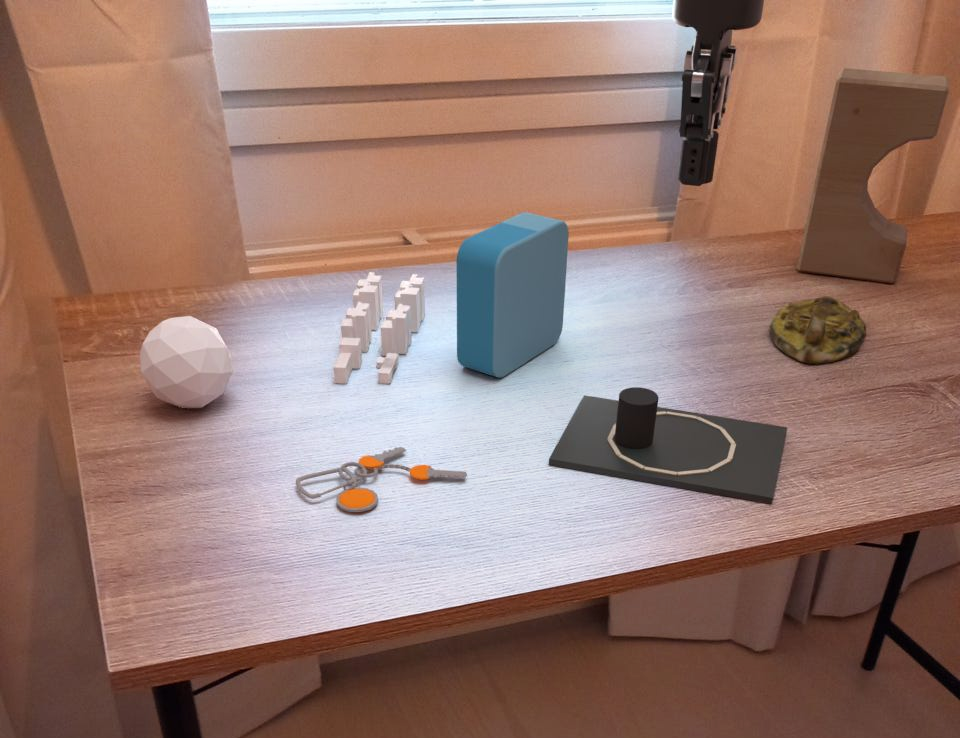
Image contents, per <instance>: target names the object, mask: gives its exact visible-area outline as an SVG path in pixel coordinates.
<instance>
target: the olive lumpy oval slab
mask: <svg viewBox="0 0 960 738" xmlns="http://www.w3.org/2000/svg"><path fill="white" fill-rule="evenodd" d="M860 315H861V314H860V312H859V310H858V309H851V308H850V307H849V306H847V304H846V303H844V302H843V301H841V300H839V299H837V298H834V297H832V296H829V295H823V296H819V297H816V298H813V299H809V300H802V301H801V300H800V301H796V302H788V303H787V304H786V305H785V306H783V307H781V308H778V310H777V312H776V313H775V314H774V315H773V318H772V320H771V322H770V325H769V332H770V336H771V339H772V341H773V343H774V345H775V346H776V347H777V348H778V349H779V350H780V351H781V352H783V353H784V354H785V355H787V356H789V357H791V358H793V359H795V360H796V361H798V362H801V363H806V364H811V365H814V364H815V365H816V364H818V365H819V364H824V363H825V364H826V363H834V362H839V361H841V360H845V359H847V358H850V357H851V356H853V355H854V354H856V352H858V350H859V349H860V346H861V344H862V343H863V341H864V340H865V339H866V336H867V325H866V323H865V321H864V320H863V318H862V317H861V316H860Z"/></svg>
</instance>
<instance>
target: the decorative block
mask: <svg viewBox="0 0 960 738" xmlns="http://www.w3.org/2000/svg"><path fill="white" fill-rule="evenodd" d="M949 92H950V80H949V78H948V77H947V76H946V75H934V74H921V73H908V72H895V71H882V70H872V69H871V70H870V69H857V68H845V67H844V68H842V69H841V70H840V71H839V72H838V76H837V78H836V81H835V86H834V89H833V95H832V99H831V104H830V109H829V113H828V118H827V122H826V128H825V132H824V137H823V142H822V146H821V150H820V151H821V152H820V156H819V162H818V166H817V170H816V175H815V180H814V184H813V190H812V194H811V199H810V203H809V208H808V213H807V217H806V224H805V227H804V230H803V231H804V232H803V237H802V241H801V246H800V251H799V255H798V260H797V265H796V269H797V271H798V272H799V273H806V274H815V275H822V276H828V277H838V278H844V279H854V280H860V281H868V282H875V283H882V284H891V285H893V284H894V283H896V282H897V280H898V276H899V272H900V269H901V265H902V262H903V259H904V254H905V251H906V247H907V242H908V233H909V232H908V228H907V227H906V226H905V225H902V224H900V223H897V222H895V221H891V220H888V219H887V217H885V215H884V214H882V212H880V211H879V209H877V208H876V206H875V204H874V202H873V199H872V197H871V194H870V193H869V191H868V188H869V187H868V186H869V180H870V177H871V175H872V173H873V170H874V168H875V167H876V166H877V165H879V163H880V162H882V161H883V160H884V159H885V158H886V157H887V156H888V155H889V153H891V152H893V151H895V150H897V149H899V148H901V147H902V146H904V145H906V144H908V143H909V142H915V141H917V142H918V141H924V140H932V139H934V138H935V137H936V136H937V135H938V131H939V128H940V124H941V121H942V117H943V113H944V110H945V106H946V103H947V99H948V96H949Z"/></svg>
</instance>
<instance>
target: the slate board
mask: <svg viewBox="0 0 960 738" xmlns="http://www.w3.org/2000/svg"><path fill="white" fill-rule="evenodd" d="M618 402H619V399H618V400H616V399H611V398H604V397H599V396H592V395H586V394H584V395H583V396H582V398H581V400H580V402H579V403H578V405H577V407H576V409H575V411H574V412H573V415H572V416H571V418H570V420H569V421H568V424H567V426H566V427H565V429H564V431H563V432H562V434H561V436H560V438H559V440H558V442H557V443H556V445H555V447H554V449H553V451H552V453H551V455H550V456H549V458H548V465H549V466H554V467H558V468H565V469H570V470H576V471H581V472H588V473H592V474H599V475H604V476H610V477H615V478H621V479H627V480H633V481H638V482H644V483H648V484H649V483H650V484H656V485H662V486H667V487H672V488H679V489H683V490H690V491H695V492H699V493H701V492H702V493H707V494H713V495H718V496H723V497H728V498H729V497H730V498H735V499H741V500H746V501H753V502H758V503H762V504H770V505H772V504H773V502H774V501H773V500H774V495H775V490H776V485H777V481H778V476H779V472H780V467H781V462H782V456H783V451H784V446H785V442H786V437H787V432H788V427H787V426H783V425H776V424H770V423H763V422H757V421H750V420H744V419H739V418H731V417H724V416H719V415H713V414H712V415H711V414H706V413H699V412H692V411H686V410H680V409H674V408H669V407H668V408H667V407H661V406H657V414H656V421H655V429H654V436H653V442H652V444H651V445H650V446H648V447H645V448H641V449H631V448H626V447H623V446H621V445H619V444H618V443H617V442H616V441H615V429H616V420H617V411H618Z"/></svg>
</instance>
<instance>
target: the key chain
mask: <svg viewBox="0 0 960 738" xmlns="http://www.w3.org/2000/svg"><path fill="white" fill-rule="evenodd" d="M405 452H407V449H406V448H405V447H403V446H398V447H397V446H396V447H394V448H392V449H388V450H384V451H383V452H382V453H378V454H377V453H376V454H375V455H370V454H368V455H363V456H361V457H360V458H359V459H358V462H355V461H348V462H345V463H343V464H342V465H341V466H340V467H337V468H332V469H327V470H322V471H319V472H314V473H309V474H305V475H302V476H300V477H297V478H296V479H295V485H296V488H297V490H298V491H299V492H300V493H301V494H302V495H303V496H305V497H306V498H308V499H310V500H314V499H318V498H321V497H322V496H324V495H327V494H329V493H332V492H334V491H337V490H339V489H343V490H342V491H341V492H339V493H338V494H337V496H336V497H335V501H336V506H337V507H339V509H341V510H343V511H345V512H350V513H363V512H366V511H369V510H372V509H373V508H374V507H376V506H377V504H378V503H379V496H378V494H377V493H376V492H375V491H374V490H372V489H369V488H366V487H360V486H359V487H356V485H357V483H358V482H359V483H360V482H361V481H363V480H365V478H373V477H376V475H378V473H379V471H378V470H382V469H397V470H398V469H400V470H404V471H406V472H409V476H410V477H412V478H413V479H415V480H420V481H424V480H425V481H426V480H429V479H431V478H435V479H436V478H440V477H441V478H444V479H448V478H450V479H454V478H458V479H465V478H466V477H467V476H468V473H467V471H463V470H462V471H461V470H445V469H444V470H443V469H435V468H433V467H432V465H427V464H416V465H414V466H412V467H408V466H405V465H402V464H401V465H400V464H393V463H389V464H385V462H384V461H386V460H388V459H391V458H393V457H395V456H398V455H400V454H402V453H405ZM348 467H356V468H355V469H354V470H353V472H354V473H353V472H352V471H351V470H350V469H348ZM368 470H371V471H373V472H370V473H368ZM360 471H362V473H361V472H360ZM335 473H336V474H338V475H339V477H340V478H341V479H342V480H344V481H345V482H344V483H342V484H339V485H337V486H335V487H332V488H330V489H328V490H324V491H323V492H320V493H319V492H317V493H310V492H308V491H307V490H306V489H305V488H304V487H303V486H302V483H301V482H304V481H306V480H310V479H313V478H318V477H323V476H326V475H331V474H335ZM344 473H345V474H346V475H348V476H346V475H345V474H344ZM356 476H357V477H356ZM347 486H350V487H349V488H346V487H347Z"/></svg>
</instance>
